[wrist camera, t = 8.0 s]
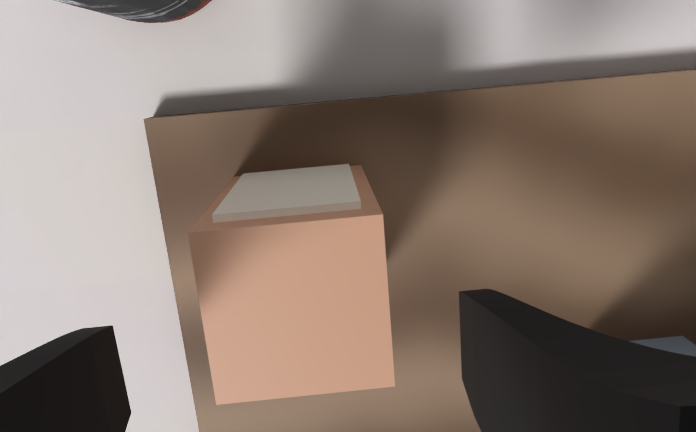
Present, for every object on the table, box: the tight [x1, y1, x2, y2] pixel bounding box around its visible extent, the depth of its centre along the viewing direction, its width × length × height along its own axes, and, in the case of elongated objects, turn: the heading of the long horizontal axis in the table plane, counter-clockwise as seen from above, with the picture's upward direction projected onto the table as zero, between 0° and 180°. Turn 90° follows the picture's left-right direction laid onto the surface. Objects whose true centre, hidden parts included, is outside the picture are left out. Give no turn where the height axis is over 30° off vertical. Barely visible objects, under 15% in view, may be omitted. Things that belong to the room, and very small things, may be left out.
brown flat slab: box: [144, 69, 696, 432], centre depth 21 cm, size 18×23×3 cm
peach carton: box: [188, 164, 395, 405], centre depth 17 cm, size 5×4×7 cm
